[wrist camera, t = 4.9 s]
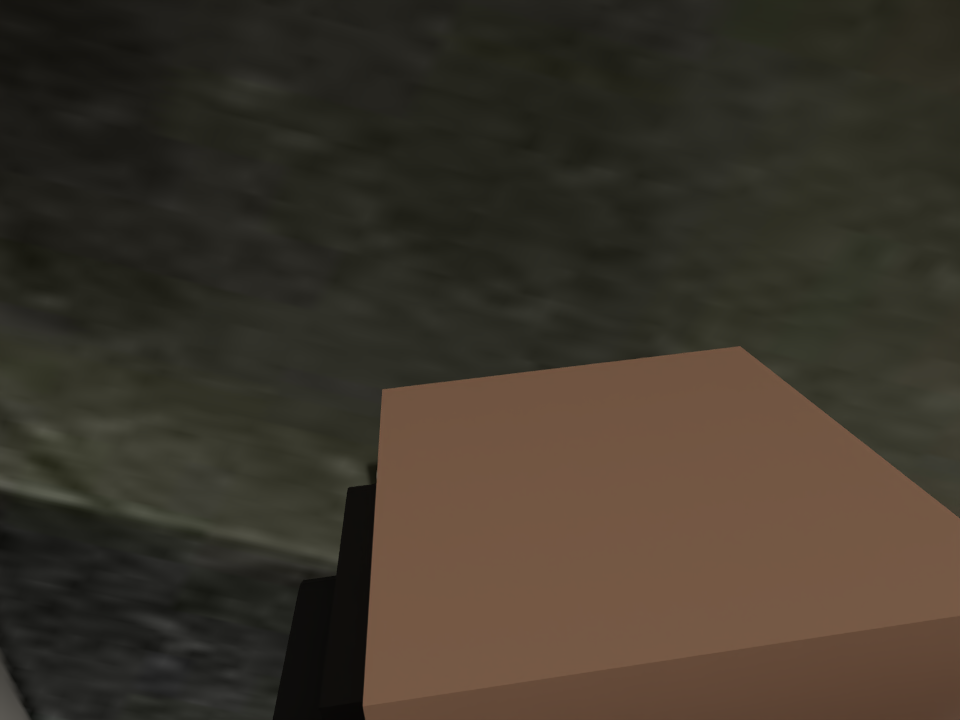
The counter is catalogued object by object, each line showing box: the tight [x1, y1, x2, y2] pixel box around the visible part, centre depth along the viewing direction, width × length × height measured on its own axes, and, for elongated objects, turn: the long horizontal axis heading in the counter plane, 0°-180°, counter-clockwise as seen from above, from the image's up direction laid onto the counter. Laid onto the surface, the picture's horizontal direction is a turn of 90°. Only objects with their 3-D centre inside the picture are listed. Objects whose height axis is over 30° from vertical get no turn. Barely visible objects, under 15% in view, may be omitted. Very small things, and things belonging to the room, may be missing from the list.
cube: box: [363, 346, 960, 720], centre depth 9 cm, size 6×6×6 cm
